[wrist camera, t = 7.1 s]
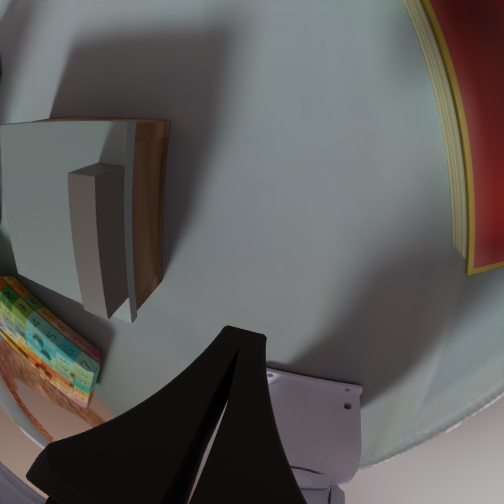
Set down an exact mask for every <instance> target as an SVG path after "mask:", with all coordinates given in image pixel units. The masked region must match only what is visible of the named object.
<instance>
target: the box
mask: <svg viewBox="0 0 504 504" xmlns="http://www.w3.org/2000/svg"><path fill="white" fill-rule="evenodd" d="M54 120H122V121H136V132H135V145H134V162H133V189H132V238H133V265H134V282H135V296H136V308H137V310H138V309H139V308H140V307H141V306H142V304H143V303H144V302H145V301H146V300H147V298H148V297H149V296H150V295H151V294H152V292H153V291H154V290H155V289H156V288H157V286H158V285H159V284H160V283H161V282H162V230H163V206H164V188H165V173H166V161H167V150H168V139H169V130H170V121H167V120H154V119H137V118H105V117H81V118H51V119H43V120H38V121H54ZM32 122H35V121H32Z"/></svg>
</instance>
